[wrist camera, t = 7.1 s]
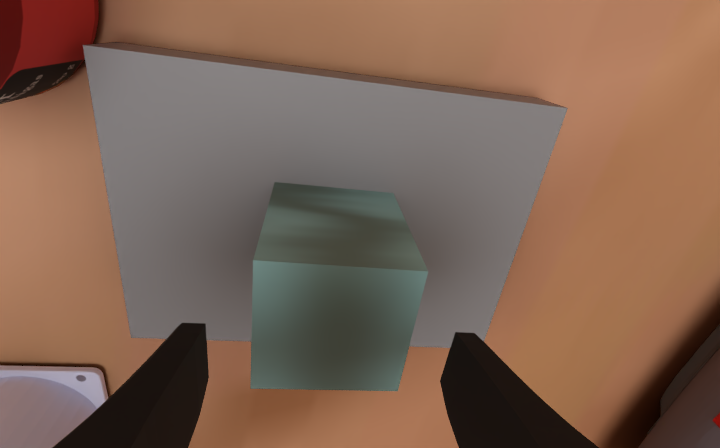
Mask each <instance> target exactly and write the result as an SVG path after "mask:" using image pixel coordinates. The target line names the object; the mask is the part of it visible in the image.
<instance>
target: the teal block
mask: <svg viewBox="0 0 720 448" xmlns="http://www.w3.org/2000/svg"><path fill="white" fill-rule="evenodd" d="M427 275H428V270H427V267H426V265H425V263H424V261H423V259H422V256H421V254H420V252H419V250H418V247H417V245H416V243H415V241H414V238H413V236H412V234H411V232H410V229H409V227H408V225H407V223H406V220H405V218H404V216H403V214H402V211H401V209H400V207H399V205H398V202H397V200H396V198H395V196H394V193H387V192H376V191H365V190H355V189H344V188H334V187H323V186H312V185H302V184H291V183H280V182H275V183H274V186H273V190H272V194H271V197H270V201H269V204H268V208H267V212H266V215H265V219H264V223H263V226H262V230H261V233H260V237H259V241H258V244H257V248H256V251H255V255H254V259H253V289H252V339H251V389H308V390H365V391H398V388H399V384H400V380H401V376H402V372H403V368H404V364H405V361H406V357H407V353H408V349H409V345H410V341H411V337H412V333H413V329H414V325H415V322H416V318H417V314H418V310H419V306H420V302H421V298H422V294H423V290H424V286H425V283H426V279H427Z"/></svg>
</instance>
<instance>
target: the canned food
mask: <svg viewBox="0 0 720 448" xmlns="http://www.w3.org/2000/svg"><path fill="white" fill-rule="evenodd" d="M98 19H99V6H98V0H0V104H2V103H6V102H10V101H14V100H18V99H22V98H26V97H29V96H33V95H37V94H41V93H43V92H46V91H48V90H50V89H52V88H54V87H57V86H59V85H60V84H61V83H62V82H64V81H65V80H66V79H67V78H68V77H70V76H71V75H72V74H73V73H74V72H75V71H76V70H77V68H78V67H79V66H80V64H81V63H82V62H83V60H84V59H85V56H84V50H83V45H89V44H93V42H94V39H95V37H96V31H97V25H98Z"/></svg>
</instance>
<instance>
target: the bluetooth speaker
mask: <svg viewBox="0 0 720 448" xmlns="http://www.w3.org/2000/svg"><path fill="white" fill-rule="evenodd" d="M719 347H720V324H719V326H718V327H717V328H716V329H715V330H714V331H713V332H712V334H711V335H710V336H709V337H708V338H707V339H706V340H705V342H704V343H703V344H702V345H701V346H700V348H699V349H698V350H697V351H696V352H695V354H694V355H693V356H692V357H691V359H690V360H689V361H688V362H687V363H686V365H685V366H684V367H683V368H682V369H681V371H680V372H679V373H678V374H677V375H676V377H675V378H674V379H673V381H672V382H671V384H670V385H669V386H668V388H667V389H666V391H665V392H664V394H663V396H662V398H661V400H660V406H661V417H660V418H659V419H658V420H657V422H656V423H655V424H654V425H653V427H652V428H651V429H650V430H649V432H648V433H647V434H648V435H647V436H646V438H645V439H644V440H643V442H642V443H641V444H640V446H639V447H638V448H720V348H719ZM718 348H719V349H718ZM713 354H714V355H713ZM712 355H713V356H712ZM711 356H712V357H711ZM705 363H706V364H705ZM704 364H705V365H704ZM703 365H704V366H703ZM698 371H699V372H698ZM693 377H694V378H693ZM692 378H693V379H692ZM687 384H688V385H687Z"/></svg>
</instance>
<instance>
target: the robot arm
mask: <svg viewBox="0 0 720 448" xmlns="http://www.w3.org/2000/svg"><path fill="white" fill-rule="evenodd" d="M208 378H209V375H208V357H207V340H206V323H181V324H180V325H179V326H178V327H177V328H176V329H175V330H174V331H173V332H172V333H171V335H170V336H169V337H168V338H167V339H166V340H165V341H164V342H163V343H162V345H161V346H160V347H159V348H158V349H157V350H156V351H155V352H154V353H153V354H152V355H151V356H150V357H149V359H148V360H147V361H146V362H145V363H144V364H143V365H142V366H141V367H140V368H139V369H138V370H137V371H136V372H135V373H134V374H133V375H132V376H131V377H130V378H129V379H128V380H127V381H126V382H125V383H124V384H123V385H122V386H121V387H120V388H119V389H118V390H117V391H116V392H115V393H114V394H113V395H111V396H110V397H109V398H108V394H107V390H106V385H105V380H104V376H103V373H102V371H101V370H100V369H98V368H94V367H53V366H5V365H0V448H188V446H189V443H190V441H191V438H192V435H193V432H194V429H195V427H196V424H197V421H198V418H199V415H200V411H201V407H202V403H203V399H204V395H205V391H206V386H207V382H208ZM440 382H441V387H442V392H443V397H444V401H445V405H446V410H447V414H448V417H449V420H450V423H451V426H452V429H453V432H454V435H455V438H456V441H457V444H458V446H459V448H599V447H597V446H596V445H595V444H594V443H592V442H591V441H590V440H588V439H587V438H586V437H585V436H583V435H582V434H581V433H580V432H578V431H577V430H576V429H575V428H574V427H572V426H571V425H570V424H569V423H568V422H567V421H565V420H564V419H563V418H562V417H561V416H560V415H559V414H557V413H556V412H555V411H554V410H553V409H552V408H551V407H550V406H549V405H547V404H546V403H545V402H544V401H543V400H542V399H541V398H540V397H539V396H538V395H537V394H536V393H534V392H533V391H532V390H531V389H530V388H529V387H528V386H527V385H526V384H525V383H524V382H523V381H522V380H521V379H520V378H519V377H518V376H517V375H516V374H515V373H514V372H513V371H512V370H511V369H510V368H509V367H508V366H507V365H506V364H505V363H504V362H503V361H502V360H501V359H500V358H499V357H498V356H497V355H496V354H495V353H494V352H493V351H492V350H491V349H490V348H489V347H488V346H487V345H486V344H485V343H484V342H483V341H482V340H481V339H480V338H479V337H478V336H477V335H476V334H475V333H465V332H455V335H454V338H453V341H452V345H451V348H450V351H449V354H448V357H447V361H446V364H445V367H444V370H443V374H442V377H441V380H440Z"/></svg>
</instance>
